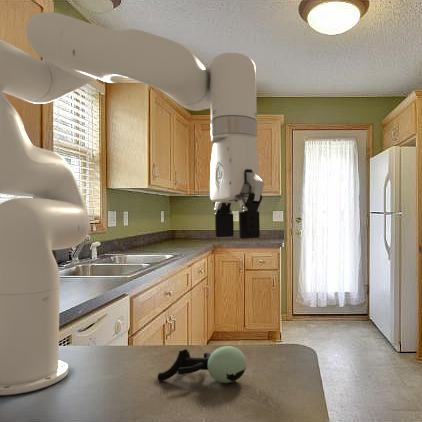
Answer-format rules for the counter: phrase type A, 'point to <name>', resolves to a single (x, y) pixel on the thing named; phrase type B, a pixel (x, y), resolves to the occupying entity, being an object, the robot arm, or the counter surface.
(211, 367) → the toy
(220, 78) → the robot arm
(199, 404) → the counter surface
